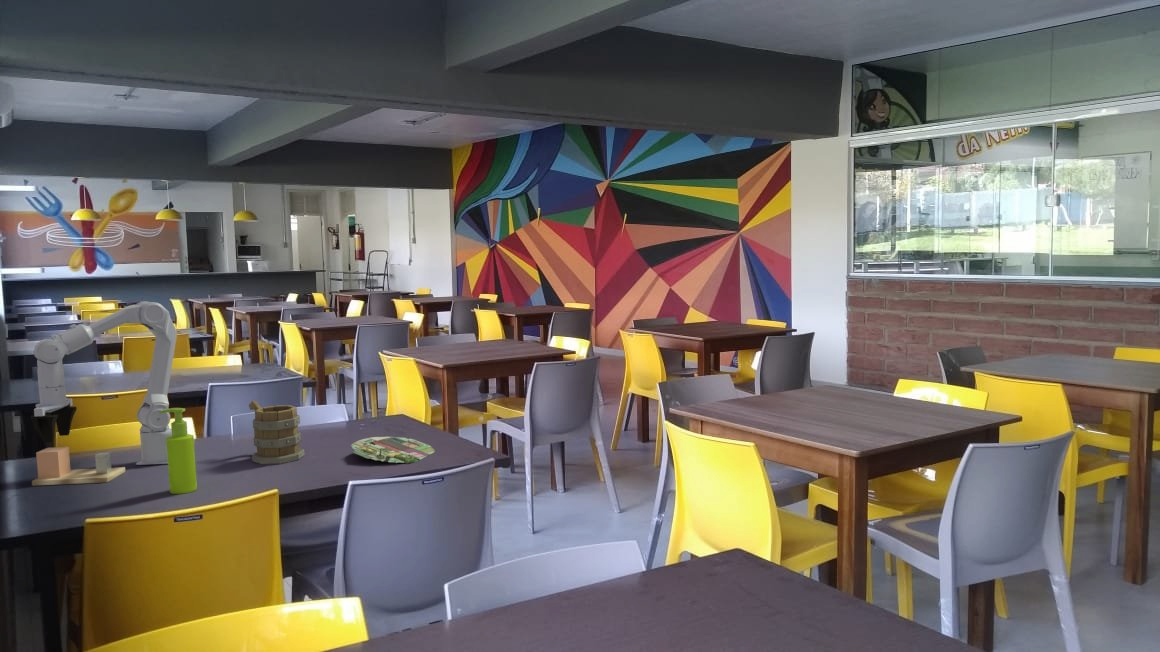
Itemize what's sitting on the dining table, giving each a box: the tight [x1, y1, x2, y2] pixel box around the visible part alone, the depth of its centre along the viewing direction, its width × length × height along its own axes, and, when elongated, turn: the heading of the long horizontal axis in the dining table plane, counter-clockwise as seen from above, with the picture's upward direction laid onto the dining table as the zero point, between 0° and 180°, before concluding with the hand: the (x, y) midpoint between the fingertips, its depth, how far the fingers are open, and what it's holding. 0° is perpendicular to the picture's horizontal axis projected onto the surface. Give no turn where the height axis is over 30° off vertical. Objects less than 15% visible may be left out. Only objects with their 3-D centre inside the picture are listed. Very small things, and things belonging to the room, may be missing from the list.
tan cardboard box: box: [35, 446, 72, 478], centre depth 213 cm, size 5×5×7 cm
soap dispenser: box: [160, 407, 198, 495], centre depth 199 cm, size 6×7×20 cm
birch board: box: [31, 466, 126, 487], centre depth 213 cm, size 18×10×1 cm, turn 95°
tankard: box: [248, 400, 306, 465], centre depth 232 cm, size 20×13×15 cm, turn 47°
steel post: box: [94, 451, 113, 474], centre depth 214 cm, size 3×3×5 cm
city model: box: [350, 436, 436, 465], centre depth 230 cm, size 25×23×6 cm
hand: (56, 438), depth 213 cm, fingers open, 7 cm apart
